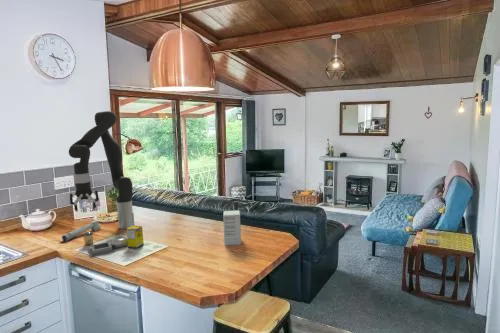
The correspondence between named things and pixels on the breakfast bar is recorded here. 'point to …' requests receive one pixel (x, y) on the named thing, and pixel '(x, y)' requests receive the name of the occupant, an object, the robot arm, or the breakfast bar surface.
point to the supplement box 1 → (135, 236)
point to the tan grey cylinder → (88, 238)
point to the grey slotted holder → (107, 247)
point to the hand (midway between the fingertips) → (85, 210)
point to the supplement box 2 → (232, 227)
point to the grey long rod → (81, 230)
